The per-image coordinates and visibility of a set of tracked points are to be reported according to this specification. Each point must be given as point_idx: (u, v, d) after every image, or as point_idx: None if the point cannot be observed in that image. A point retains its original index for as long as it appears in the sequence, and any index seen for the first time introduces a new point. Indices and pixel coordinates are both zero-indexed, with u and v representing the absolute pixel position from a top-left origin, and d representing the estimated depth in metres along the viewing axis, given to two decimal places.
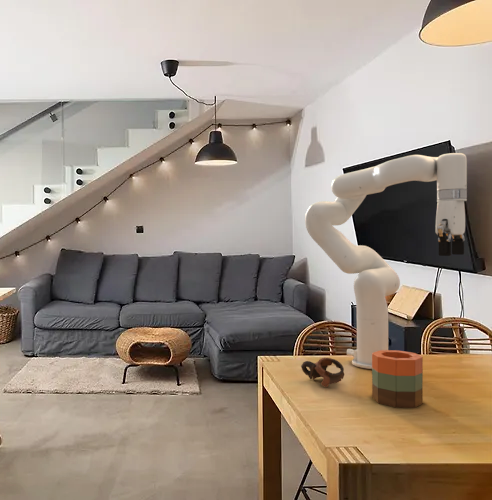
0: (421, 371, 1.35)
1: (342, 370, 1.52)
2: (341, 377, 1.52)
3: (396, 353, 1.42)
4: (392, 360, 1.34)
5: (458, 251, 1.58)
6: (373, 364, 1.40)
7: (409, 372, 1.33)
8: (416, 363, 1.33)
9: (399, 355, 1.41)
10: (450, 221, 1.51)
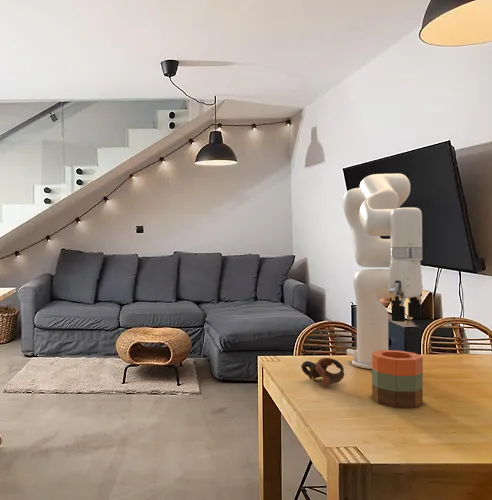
0: (421, 371, 1.35)
1: (342, 370, 1.52)
2: (341, 377, 1.52)
3: (396, 353, 1.42)
4: (392, 360, 1.34)
5: (414, 314, 1.43)
6: (373, 364, 1.40)
7: (409, 372, 1.33)
8: (416, 363, 1.33)
9: (399, 355, 1.41)
10: (403, 283, 1.36)
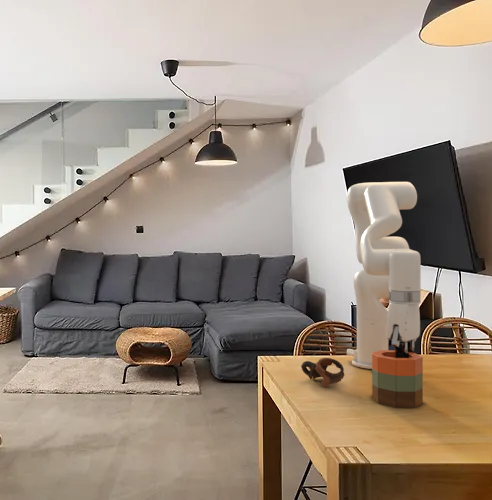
0: (421, 371, 1.35)
1: (342, 370, 1.52)
2: (341, 377, 1.52)
3: None
4: (392, 360, 1.34)
5: None
6: (373, 364, 1.40)
7: (409, 372, 1.33)
8: (416, 363, 1.33)
9: None
10: (401, 327, 1.37)
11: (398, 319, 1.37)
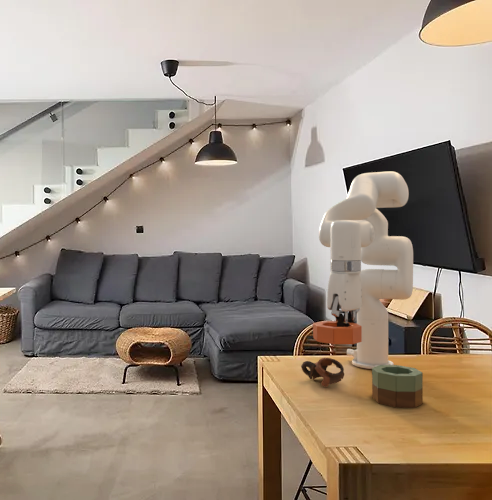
0: (360, 340, 1.35)
1: (342, 370, 1.52)
2: (341, 377, 1.52)
3: None
4: (330, 329, 1.33)
5: None
6: (314, 334, 1.39)
7: (347, 340, 1.32)
8: (354, 331, 1.33)
9: None
10: (341, 297, 1.36)
11: (338, 288, 1.37)
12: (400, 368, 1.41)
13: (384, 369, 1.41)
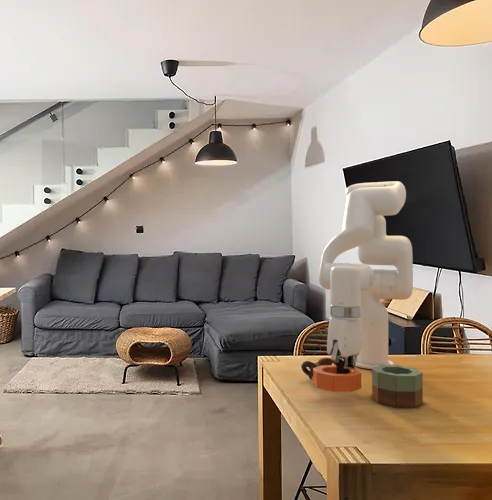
0: (359, 387, 1.35)
1: None
2: None
3: None
4: (330, 376, 1.33)
5: None
6: (314, 379, 1.40)
7: (346, 388, 1.33)
8: (354, 379, 1.33)
9: None
10: (340, 343, 1.37)
11: (337, 334, 1.37)
12: (400, 368, 1.41)
13: (384, 369, 1.41)
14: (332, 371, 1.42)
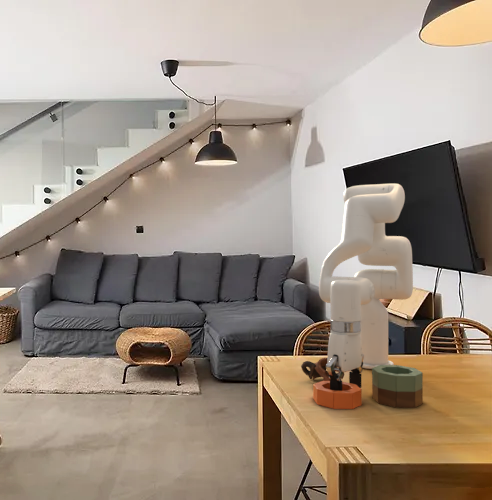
0: (360, 404, 1.35)
1: None
2: None
3: None
4: (330, 393, 1.34)
5: None
6: (314, 395, 1.40)
7: (347, 405, 1.33)
8: (354, 396, 1.33)
9: None
10: (341, 358, 1.37)
11: (338, 349, 1.37)
12: (400, 368, 1.41)
13: (384, 369, 1.41)
14: None
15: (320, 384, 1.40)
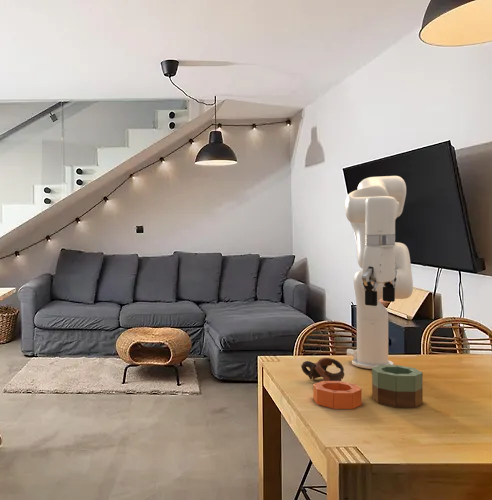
0: (360, 404, 1.35)
1: (342, 370, 1.52)
2: (341, 377, 1.52)
3: (338, 384, 1.42)
4: (330, 393, 1.34)
5: (388, 298, 1.50)
6: (314, 395, 1.40)
7: (347, 405, 1.33)
8: (354, 396, 1.33)
9: (340, 386, 1.41)
10: (376, 269, 1.43)
11: (373, 261, 1.43)
12: (400, 368, 1.41)
13: (384, 369, 1.41)
14: (332, 387, 1.42)
15: (320, 384, 1.40)
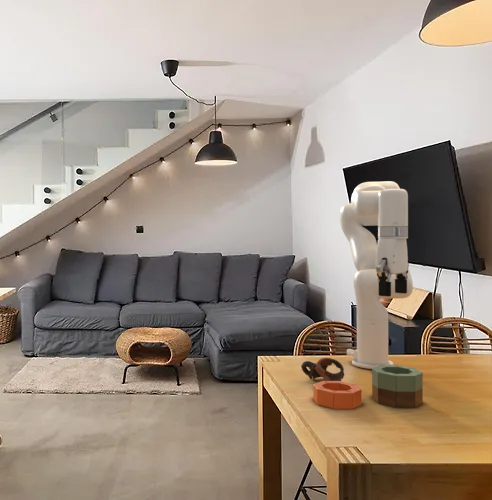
0: (360, 404, 1.35)
1: (342, 370, 1.52)
2: (341, 377, 1.52)
3: (338, 384, 1.42)
4: (330, 393, 1.34)
5: (401, 290, 1.52)
6: (314, 395, 1.40)
7: (347, 405, 1.33)
8: (354, 396, 1.33)
9: (340, 386, 1.41)
10: (390, 260, 1.45)
11: (386, 253, 1.45)
12: (400, 368, 1.41)
13: (384, 369, 1.41)
14: (332, 387, 1.42)
15: (320, 384, 1.40)
